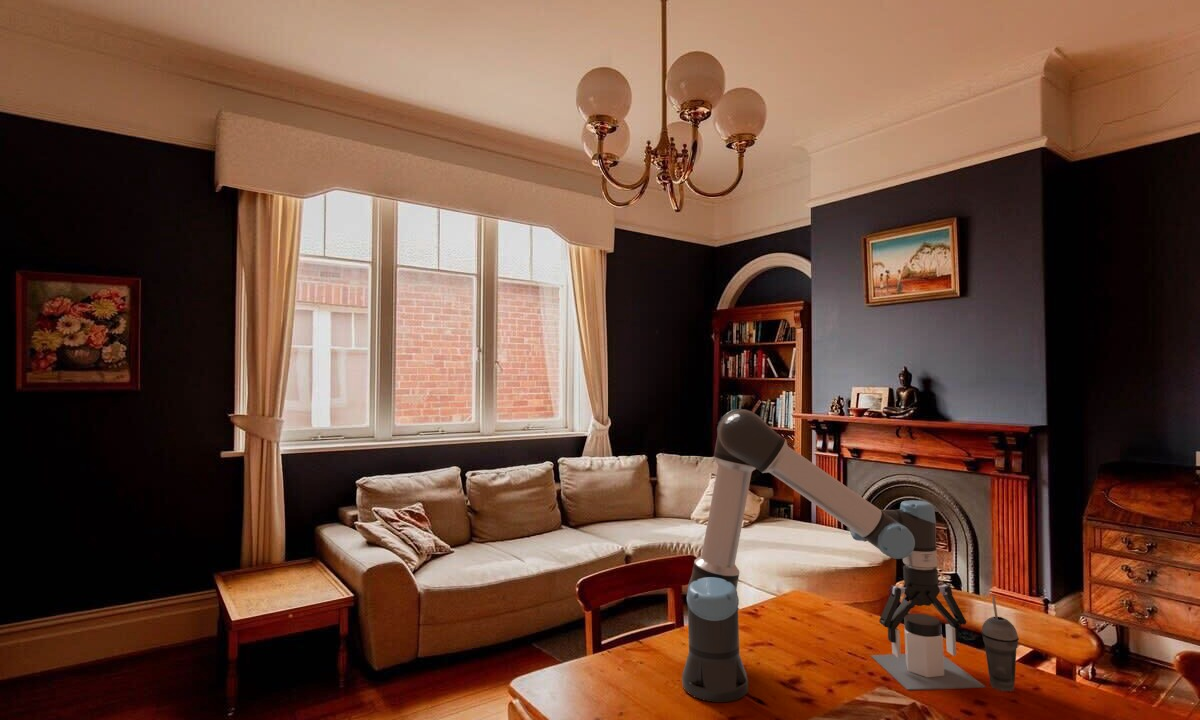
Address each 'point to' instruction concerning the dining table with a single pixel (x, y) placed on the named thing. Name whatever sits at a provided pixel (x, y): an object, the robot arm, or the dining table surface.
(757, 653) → the dining table surface
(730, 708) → the dining table surface
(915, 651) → the jar
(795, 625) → the dining table surface
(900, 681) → the mat
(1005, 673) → the beverage cup
